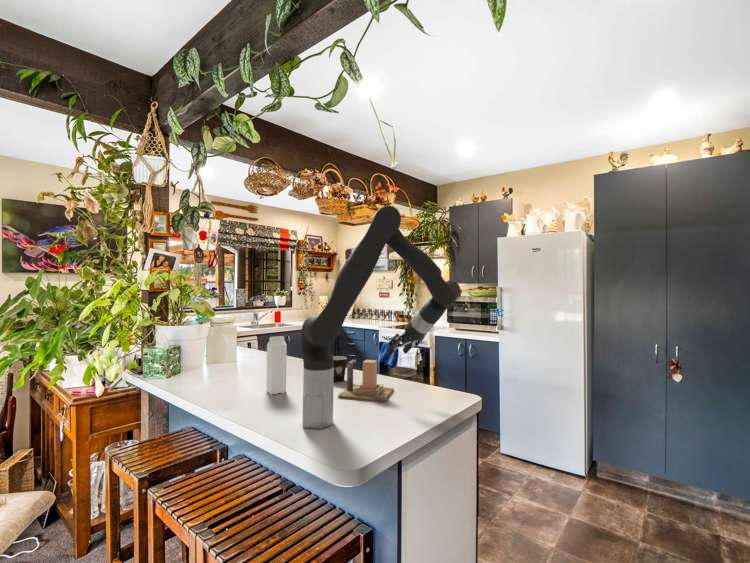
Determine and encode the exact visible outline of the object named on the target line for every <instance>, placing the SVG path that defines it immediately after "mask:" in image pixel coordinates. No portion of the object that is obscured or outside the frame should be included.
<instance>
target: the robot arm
mask: <svg viewBox="0 0 750 563" xmlns="http://www.w3.org/2000/svg"><path fill="white" fill-rule="evenodd" d="M401 216H402V215H401V213H400V211H399V210H398V208H397V207H395V206H392V205H384V206H381V207H380V208H379V209H378V210H376V211H375V213H374V215H373V218H372V220H371V223H370V225H369V227H368V229H367V231H366V232H365V234H364V236H363V238H362V239H361V240H360V241H359V242H358V243H357V245H356V246H355V248H354V249H353V251H352V252H351V253H350V255H349V256H348V258H347V259H346V260H345V262H344V264H343V265H342V267H341V268H340V270H339V272H338V274H337V276H336V278H335V282H334V286H333V289H332V292H331V296H330V298H329V300H328V302H327V303H326V304H325V306H324V308H323V309H322V311H321V312H320V313H319V314H312V315H310V316H308V317H307V318H306V319H305V320H304V322H303V323H302V325H301V326H302V327H301V337H300V338H301V340H300V341H301V358H302V362H303V381H302V382H303V383H302V386H303V387H302V389H303V392H302V394H303V396H302V428H307V429H317V430H322V429H323V428H324V429H325V428H328V427H330V426H332V425H333V424H334V382H333V381H334V359H333V357H332V356H333V354H332V352H331V347H330V346H331V344H332V343H334V341H336V339H337V338H338V335H339V333H340V331H341V328H342V327H343V324H344V322H345V320H346V318H347V316H348V315H349V312H350V310H351V309H352V307H353V305H354V304H355V302H356V301H357V298H358V297H359V295H360V294H361V292H362V291H363V290H364V287H365V286H366V284H367V283H368V281H369V279H370V277H371V276H372V274H373V272H374V270H375V268H376V265H377V263H378V262H379V259H380V257H381V254H382V252H383V250H384V248H385V247H386V245H387V246H388V247H389V248H391V249H392V250H393V252H395V253H396V254H397V255H398V256H399V257H400V258H402V260H403V261H404V262H405V263H406V264H407V265H408V266H409V267H410V268H411V269H412V271H413V272H414V273H415V274H416V275H417V277H419V278H420V279H421V282H423V283H424V284H425V286H426V288H427V291H428V292H429V294H431V298H430V299H429V300H428V301H426V303H425V304H423V306H422V307H421V309H419V311H417V312H416V313H415V314H414V316H413V317H412V318H411V319H410V320H409V321H408V322H407V324H406V325H405V327H404V333H402V334H401V335H400V334H399V333H396V334H395V335H394V336H393V337H392V338H391V340H389V341H388V343H387V344H388V346H389V347H388V349H386V353H387V355H388V356H390V357H391V356H392V355H393V354H394V353H395V351H396V350H397V349H399V348H402V351H403V353H404V354H408V353H409V351H411V349H414V347H418V346H419V345H420V344H421V343H422V342H423V340H424V339H425V337H426V336H427V334H428V333H429V332H430V331H431V330H432V329H433V328H434V326H435V324H436V323H437V322H439V320H440V319H441V318H442V317H443V315H444V314H445V313H446V312H445V311H447V309H448V308H449V307H451V306H453V304H455V302H456V301H457V300H458V298H459V297H460V295H461V286H460V285H459V283H458V282H456V281H454V280H444V277H443V276H442V274H443V273H442V269H441V268H440V267H439V266H438V265H437V264H436V262H434V260H433V259H432V258H431V257H430V256H429V255H428V254H427V253H426V252H425V251H424V250H422V249H420V248H419V247H418V246H416V245H414V244H413V243H412V242H411V241H409V240H408V239H407V238H406V237H405V235H404V234H403V233H402V231H401V230H400V226H401V224H402V217H401Z"/></svg>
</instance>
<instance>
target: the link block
mask: <svg viewBox="0 0 750 563" xmlns="http://www.w3.org/2000/svg"><path fill="white" fill-rule="evenodd" d="M377 372H378V360H375V359H364V361H362V383H363V385H362V389H372V390H376V389H377V384H378V382H377V381H378V379H377V376H378V373H377Z"/></svg>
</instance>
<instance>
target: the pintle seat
mask: <svg viewBox="0 0 750 563" xmlns="http://www.w3.org/2000/svg"><path fill="white" fill-rule="evenodd" d="M356 363H357V359H352V360H350V361H348V363H347V364H346V388H345V389H344V390H343V391H342V392H340V393H339V394H338V395H337V398H338V399H345V400H346V399H347V400H355V401H357V400H358V401H368V402H378V403H385V402H386V401H387V400H388V398H389V397H390V396H391V394H392V393H393V392H394V387H387V386H384V384H381V383H380V384H379V383H377V389H376V390H372V389H362V385H363V382H361V383H360V384H354V364H356Z"/></svg>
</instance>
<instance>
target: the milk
mask: <svg viewBox="0 0 750 563" xmlns="http://www.w3.org/2000/svg"><path fill="white" fill-rule="evenodd" d="M287 348H288V345H287V343H286V340H285V336H284V335H281V336H269V341H268V342H267V344H266V382H265V383H266V384H265V386H266V388H265V390H266V391H267V392H266V393H268V392H269V393H270V394H269V393H268V394H269V395H270V396H273V395H272V394H276V395H279V394H278V393H282V394H286V393H287V357H288V356H287V353H288V350H287ZM285 392H286V393H285Z"/></svg>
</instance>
